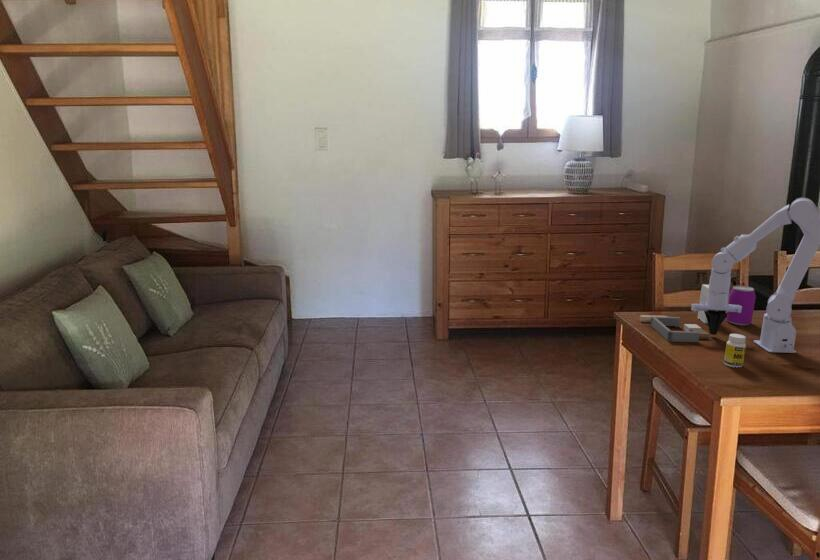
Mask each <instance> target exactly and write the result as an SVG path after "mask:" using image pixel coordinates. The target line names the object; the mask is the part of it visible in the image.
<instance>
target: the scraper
mask: <svg viewBox="0 0 820 560" xmlns="http://www.w3.org/2000/svg"><path fill="white" fill-rule="evenodd" d="M651 317H669V316H668V315H656V314H655V315H654V314H652V315H650V314H639V316H638V321H639V322H640V323H651Z"/></svg>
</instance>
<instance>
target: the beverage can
mask: <svg viewBox="0 0 820 560" xmlns="http://www.w3.org/2000/svg"><path fill="white" fill-rule="evenodd" d="M756 298H757V296H756V292H755V288H754V287H751V286H747V285H733V286H732V289H731V290H730V291H729V296H728V302H727V304H732V305H740V306H742V310H741V313H738V312H726V313H727V317H726V318H725V320H726V321H727V322H728V323H729V324H731V325H736V326H744V327H745V326H748V325H750V324H752V321H753V317H754V316H753V315H754V310H755V302H756Z"/></svg>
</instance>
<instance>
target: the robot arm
mask: <svg viewBox="0 0 820 560" xmlns="http://www.w3.org/2000/svg"><path fill="white" fill-rule="evenodd" d="M792 221H793V222H794V223H795V224H797V225H798V227H799V228H800V230H801V232H802V233H803V236H802V238H801V240H800V242H799V245H798V246H797V249H796V251H795V253H794V255H793V257H792V259H791V261H790V263H789V265H788V268H787V270H786V272H785V273H784V276H783V277H782V280H781V282H780V283H779V286H778V288H777V289H776V291H775V292H774V293H773V294H771V295H770V296H769V298H768V299H767V305H766V308H765V309H766V313H764V314H763V318H762V319H763V320H762V325H761V331H760V338H759V340H758V339H757V340H756V339H755V340H753V343H754V344H756V345H757V346H760V347H761V348H762V349H764V350H765V351H766V352H767V353H786V354H787V353H788V354H789V353H790V354H796V353H797V351H796V349H794V348H795V344H796V343H795V342H796V336H797V330H796V327H795V326H794V325H793V324H792V319H793V317H792V316H791V314H792V310H793V309H792V306H793V302H794V299H795V297H796V295H797V292H798V290H799V288H800V285H801V283H802V281H803V279H804V278H805V275H806V273H807V271H808V269H809V267H810V265H811V263H812V261H813V259H814V258H815V255H816V253H817V252H818V249H819V247H820V211H819V208H818V207H817V205H816V204H815V202H813V200H811V199H810V198H807V197H798V198H795V200H793V201H792V202H791V204H787V205H785V206H783V207H781V209H779V210H777V211H776V212H774V213H773V214H772V215H771V216H770V217H769V218H767V219H766V220H765V221H764V222H762V223H761V224H760V225H759V226H758V227H756V228H755V229H754V230H753V231H752V232H751V233H748V234H740V236H739V235H736V236H734V238H733V241H732V242H730V243H729V244H728V245H727V246H726V247H724V246H723V247H722V248H720V252H717V253H716V254H715V255H714V256H713V258H711V259H712V260H711V264H710V265H711V270H710V276H709V283H708V285H709V289H708V297H707V303H700V302H699V303H691V307H690V310H691V312H698V311H704V313H705V315H706V318H707V321H708V323H707V324H708V333H709V335H713V336H714V335H715V336H716V335H717V334H718V331H719V329H720V327H721V325H722V324H723V322H724V321H725V320H726V317H727V312H738V313H741V310H742V306H740V305H732V304H728V302H729V295H730V287H731V281H732V280H731V279H732V277H731V274H732V269H733V267H734V266H735V264H738V263H740V262H741V261H742V260H743V259H745V258H746V257H747V256H749V255H750V254H751V253H753V252H754V251H755V250H756V249H757V243H758V242H760V241H761V240H763V239H764V238H765V237H767V236H768V235H769V234H770V233H772V232H774V231H775V230H776V229H778V228H779V227H781V226H785V225H791V224H792V223H793V222H792Z"/></svg>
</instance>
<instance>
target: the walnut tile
mask: <svg viewBox="0 0 820 560" xmlns="http://www.w3.org/2000/svg"><path fill="white" fill-rule="evenodd" d="M691 332H699V340H709V338H710V333H709V332H707V331H706V330H705V329H702V330H696V329H691Z"/></svg>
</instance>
